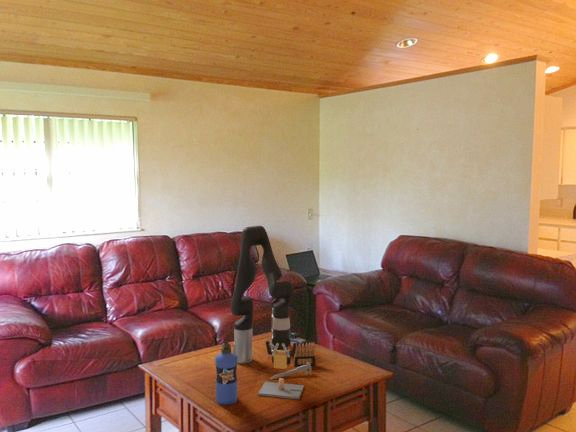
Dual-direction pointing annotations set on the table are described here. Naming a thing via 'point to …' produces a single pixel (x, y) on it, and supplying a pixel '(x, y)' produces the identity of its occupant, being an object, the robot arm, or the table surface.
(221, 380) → the water bottle
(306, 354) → the ammunition clip
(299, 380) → the table surface
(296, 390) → the post board
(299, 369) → the caliper
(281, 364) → the mustard yellow cube
